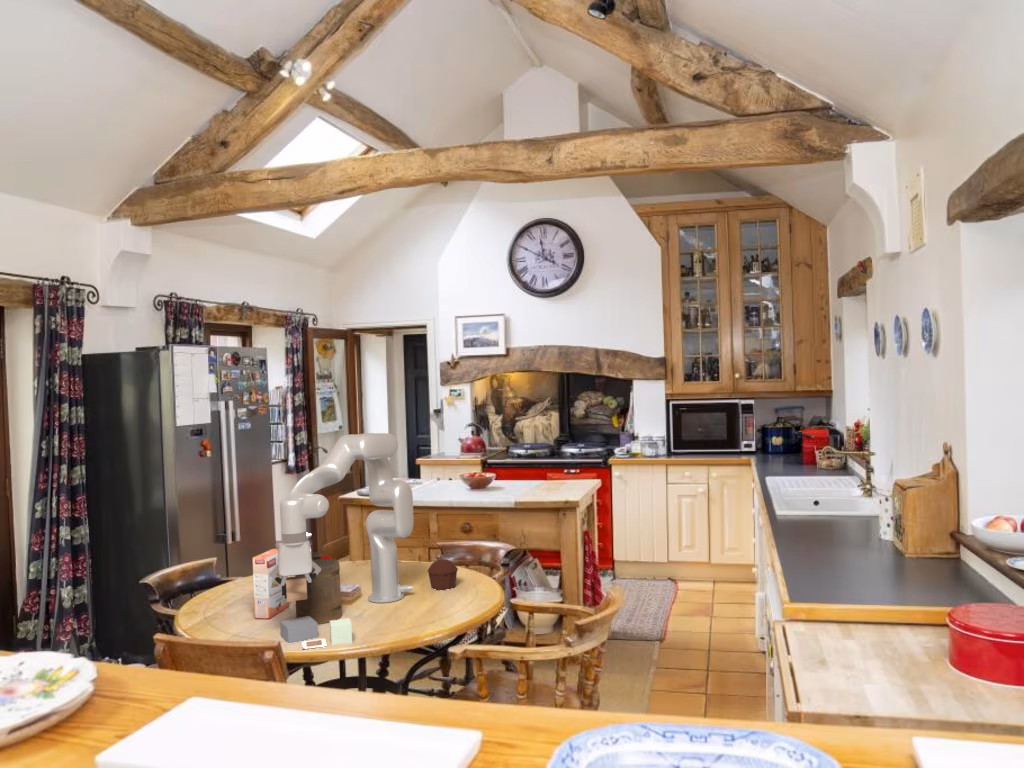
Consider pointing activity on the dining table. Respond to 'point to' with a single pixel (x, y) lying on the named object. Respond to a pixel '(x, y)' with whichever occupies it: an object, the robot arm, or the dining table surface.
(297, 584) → the walnut cube
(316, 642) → the tile
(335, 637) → the sage cube
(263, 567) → the cracker box
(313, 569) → the wooden container
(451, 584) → the muffin
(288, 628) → the base block
